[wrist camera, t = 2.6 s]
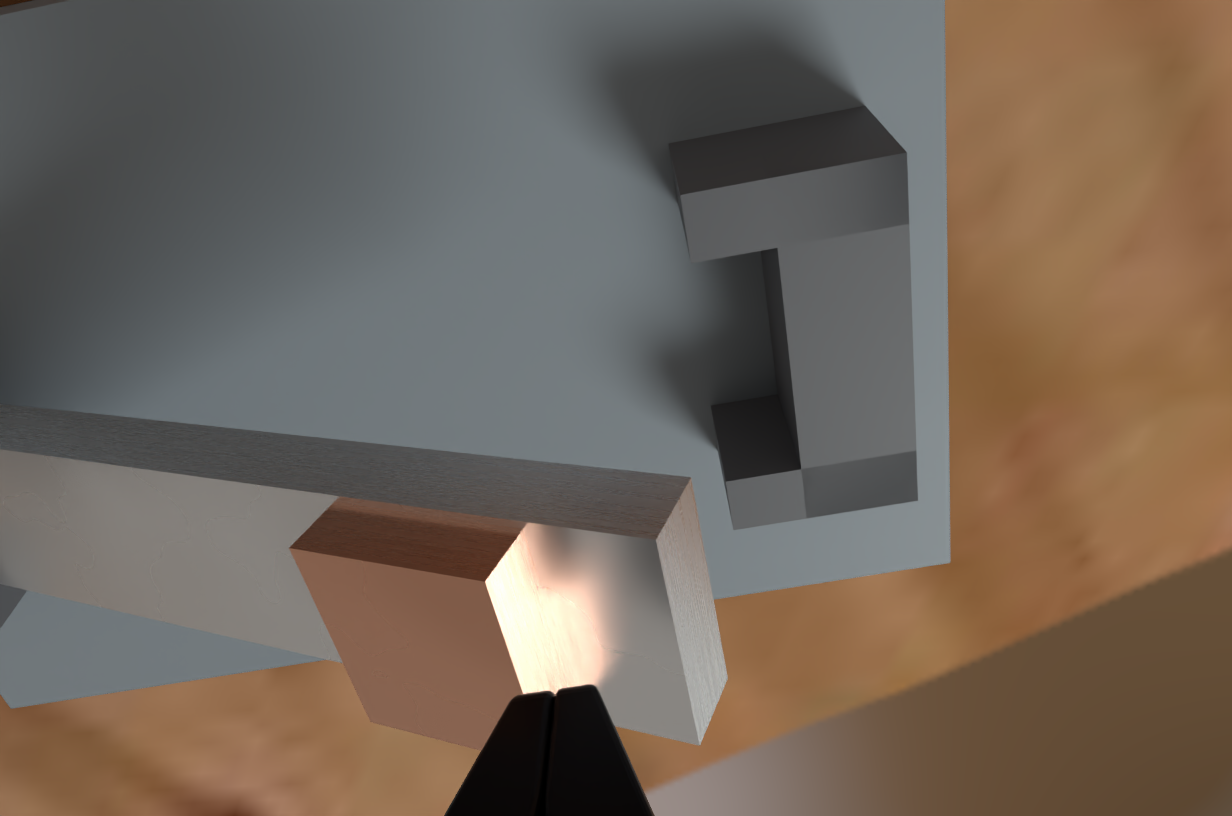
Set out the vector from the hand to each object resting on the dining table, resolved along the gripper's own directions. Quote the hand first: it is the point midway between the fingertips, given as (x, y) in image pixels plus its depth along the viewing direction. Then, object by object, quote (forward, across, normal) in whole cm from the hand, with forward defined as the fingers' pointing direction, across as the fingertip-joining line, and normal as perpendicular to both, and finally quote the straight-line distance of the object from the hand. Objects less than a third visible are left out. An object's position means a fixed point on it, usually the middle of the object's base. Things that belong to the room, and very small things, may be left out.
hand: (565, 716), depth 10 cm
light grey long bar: (+5, +5, 0) cm, 7 cm away
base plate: (+10, +4, 0) cm, 10 cm away
